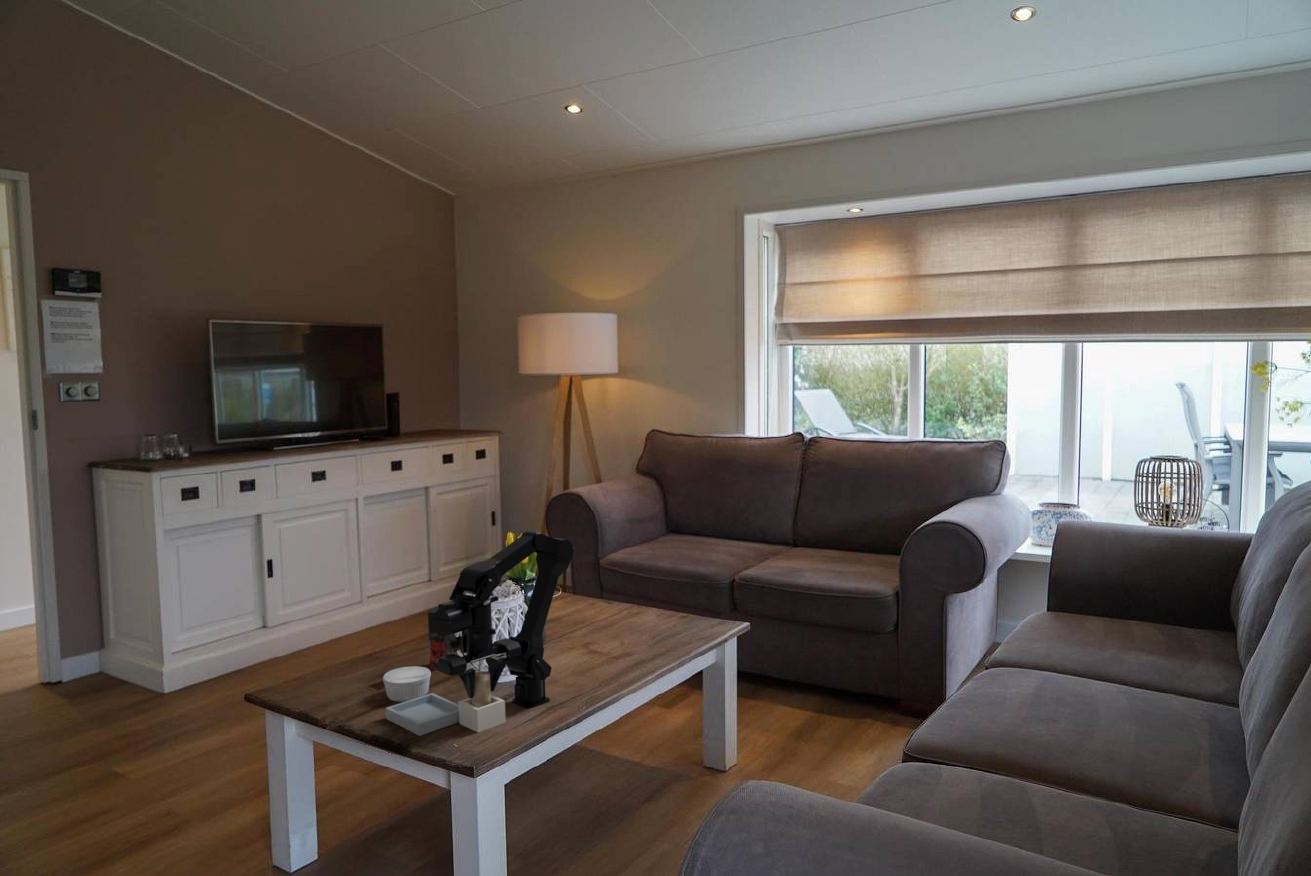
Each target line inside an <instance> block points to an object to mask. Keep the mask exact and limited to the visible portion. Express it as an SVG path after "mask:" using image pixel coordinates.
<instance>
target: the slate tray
mask: <svg viewBox="0 0 1311 876" xmlns="http://www.w3.org/2000/svg"><path fill="white" fill-rule="evenodd" d="M385 719H386V720H388V721H390V722H391V723H394V724H395V725H398V726H399V727H401V728H403V729H406V730H407V731H409V730H410V731H409V732H411V733H413V734H415V735H416V736H419V737H421V736H424V735H426V734H428V733H432V732H434V731H438V730H440V729H443V728H445V727H448V726H451V725H455V724H458V723H459V704H457V703H456V702H453V701H451V700H449V699H446V698H445V697H443V696H440V695H438V694H435V693H434V692H431V693H427V694H426V695H425V696H422V697H419V698H415V699H412V700H409V701H406V702H399V703H397V704H394V705H391V706H387V707H385ZM437 729H438V730H437Z"/></svg>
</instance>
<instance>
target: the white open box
mask: <svg viewBox="0 0 1311 876" xmlns="http://www.w3.org/2000/svg"><path fill="white" fill-rule="evenodd" d="M458 705H459V722H458V723H459V725H461V726H463V727H466V728H468V729H469V730H472V731H474V732H476V733H481V732H484V731H487V730H489V729H492V728H495V727H497V726H499V725H500V726H501V725H503V724H505V723H507V721H506V700H505V699H502V698H500V697H497V696H494V695H493V694H491V704H488V705H486V706H483V707H480V708H477V707H475V706H473V705H472V698H469V697H468V698H466V699H465V698H464V699H462V700H459V701H458Z"/></svg>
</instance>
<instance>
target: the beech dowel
mask: <svg viewBox="0 0 1311 876" xmlns="http://www.w3.org/2000/svg"><path fill="white" fill-rule="evenodd" d="M491 692H492V691H490V673H489V672H488V671H477V672H476V671H475V686H474V695H473V698H472V705H473V706H475V707H477V708H480V707H483V706H486V705H488V704H491V695H492V694H491Z"/></svg>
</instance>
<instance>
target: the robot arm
mask: <svg viewBox="0 0 1311 876" xmlns="http://www.w3.org/2000/svg"><path fill="white" fill-rule="evenodd" d="M574 553H575V548H574V547H573V543H572V542H571V541H570V540H569V539H566V538H557V537H552V536H549V535H547V534H546V535H545V534H543V533H542V532H538V531H530V530H526V531H524V532H523V533H521V535H520V536H519V537H517V538H516V539H515V540H513V541H512V542H511V543H509V544H508V545H507V546H505V547H504V548H502V549H501V550H499V551H498V552H497V553H495V554H494V555H493V556H491V557H490V558H488V559H486V560H481V561H478V562H475V563H472V564H470V565H468V566H466V567H464V568H463V569H462V570H461V571H460V573H459V577H458V578H457V579H458V580H457V581H456V584H455V586H454V588H453V590H452V592H451V594H450V597H449V598H448V599H449V601H448V602H443V603H442V602H441V603H439V604H438V607H439V610H437V611H436V612H435V614H434V618H433V627H434V629H435V631H436V633H437V634H438V635H439V636H441V637H444V645H445V649H446V650H449V649H452V650H453V654H450V655H446V656H443V657H439V659H438V660H437V663H436V666H437V669H436V671H438V672H440V673H443V674H445V675H448V676H452V677H453V676H456V675H458V677H459V678H460V681H462V683H463V687H464V689H465V691H466V694H467V696H468V698H473V695H474V686H475V672H476V670H475V669H473V668H472V664H473V663H476V662H479V661H483V660H485V662H486V664H487V670H488V671H487V672H489V673H490V691H491V692H494V691H495V689H496V687H497V684H498V682H499V680H500V678H501V675H502V673H503V672H504V669H505V668H506V667H507V670H508V671H509V673H510V675H511V676H515V684H514V686H513V687H514V698H512V699H511V700H512V702H513V703H515V704H517V705H520V706H522V707H525V708H527V709H530V708H533V707H536V706H538V705H542V704H544V703H546V702H549V701H551V698H550V697H548V696H546V680H547V678H548V677H550V676H551V671H552V666H551V665H550V664H549V663H548V662H547V661H546V660H545V659H544V654H545V647H544V643H543V639H542V637H543V632H544V628H545V625H546V622H547V618H548V616H549V611H550V609H551V605H552V601H553V598H554V595H555V591H556V588H557V585H558V580H559V578H560V576H562V575H563V574H564V573H565V572H566V571H567V569H568V568H569V567H570V564H571V561H572V560H573V556H574ZM532 554H536V555H535V562H536V566H537V570H538V571H537V576H536V580H535V582H534V586H533V589H532V592H531V596H530V599H529V602H528V606H527V610H526V612H525V614H524V615H525V616H524V619H523V622H522V627H521V629H520V631H519V632H518V634H516V636H509V638H507V637H505V638H502V639H499V640H498V639H497V640H495V641H493V635H496V634H497V632H496V628H493V621H492V618H493V617H492V615H493V614H492V603H495V602H498V601H499V599H500V598H499V597H498V596H497V595H496V594H494V593H493V592H494V591H495V590H496V588H498V586H500V584H501V582H502V579H503V577H504V576H505V575H506V574H507V573H509V572H510V571H511V570H512V569H514V568H515V567H516V566H518V565H519V564H521V563H522V562H523V561H525V560H526V559H527V558H529V557H530V556H531V555H532ZM464 593H465V594H464ZM469 594H471V595H469ZM458 633H460V634H461V635H460V636H459V635H458V636H456V634H458ZM458 651H460V653H462V654H465V655H463V656H459V655H457V654H454V653H457V652H458Z"/></svg>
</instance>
